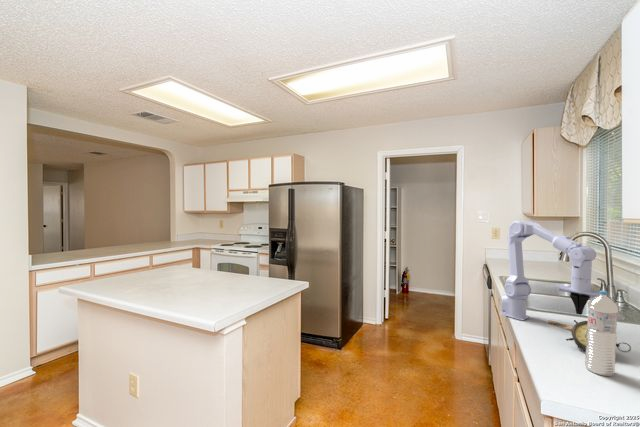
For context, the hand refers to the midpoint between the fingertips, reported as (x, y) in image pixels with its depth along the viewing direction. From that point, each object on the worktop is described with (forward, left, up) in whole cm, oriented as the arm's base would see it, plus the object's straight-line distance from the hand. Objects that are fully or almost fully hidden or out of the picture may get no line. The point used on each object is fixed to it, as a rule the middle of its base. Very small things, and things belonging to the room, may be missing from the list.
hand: (579, 313), depth 116 cm
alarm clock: (-1, -5, -6) cm, 8 cm away
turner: (-5, +12, -10) cm, 17 cm away
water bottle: (+10, -22, -11) cm, 26 cm away
